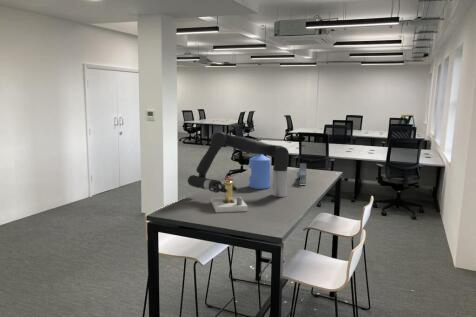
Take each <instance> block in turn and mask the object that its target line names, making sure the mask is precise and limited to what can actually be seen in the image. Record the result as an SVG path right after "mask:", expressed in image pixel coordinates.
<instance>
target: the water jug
mask: <svg viewBox="0 0 476 317" xmlns="http://www.w3.org/2000/svg"><path fill="white" fill-rule="evenodd" d="M248 163H249V164H248V165H249V169H250V171H251V172H250V174H251V175H250V176H249V178H248V182H249V183H248V187H250V189H254V190H266V188H267V189H269V188H270V187H271V164H272V160H271V158H270V157H267V155H264V154H255V156H253V157H250V158H249V162H248Z"/></svg>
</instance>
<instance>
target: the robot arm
mask: <svg viewBox="0 0 476 317" xmlns="http://www.w3.org/2000/svg"><path fill="white" fill-rule="evenodd" d="M210 139H211V141H210V145H209V147H208V149H207V150H206V152H205V154H204V155H203V157H202V158H201V160H200V162H199V163H198V165H197V167H196V169H195V170H196V172H197V173H198V176H197V175H195V174H193V175H189V177H188V178H187V184H188V185H189V186H191V187H194V188H197V189H202V190H205V191H207V192H212V193H216V194H217V193H224V194H225V193H226V189H225V184H224V183H222V182H221V181H220V180H217V179H213V178H206V176H207V173H208V171H209V170H210V168H211V166H212V164H213V161H214V159H215V158H216V156H217V154H218V153H219V152H220V150H221V149H222V147H223V146H226V147H231V148H233V149H236V150H238V151H242V152H244V153H249V154H254V155H258V154H262V155H264V156H269V157H271V158H274V163H273V166H272V167H273V168H272V197H275V198H277V197H278V198H285V197H287V192H288V191H287V190H288V189H287V188H288V167H289V156H290V154H289V150H288V148H287V147H285V146H283V145H277V144H269V143H265V142H263V141H261V140H258V139H252V138H249V137H245V136H244V137H243V136H238V135H232V134H229V133H226V132H223V131H220V130H215V131H214V132H213V133H212V134H211V137H210ZM237 188H238V187H237V186H235V184H233V191H237V190H238V189H237Z"/></svg>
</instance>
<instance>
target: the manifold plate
mask: <svg viewBox="0 0 476 317" xmlns="http://www.w3.org/2000/svg"><path fill="white" fill-rule="evenodd" d="M211 205H212V207H213V209H214V211H215V212H216V213H231V212H232V213H235V212H248V204H247V203H246V202H245V201H244V200H243V197H241V196H233V203H225V196H223V197H222V196H221V197H211Z"/></svg>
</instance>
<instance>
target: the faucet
mask: <svg viewBox="0 0 476 317" xmlns="http://www.w3.org/2000/svg"><path fill="white" fill-rule="evenodd" d="M297 177H298V178H300V179H299V185H300V184H306V185H307V163H299V170H298V171H297V173H296V178H297Z"/></svg>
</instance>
